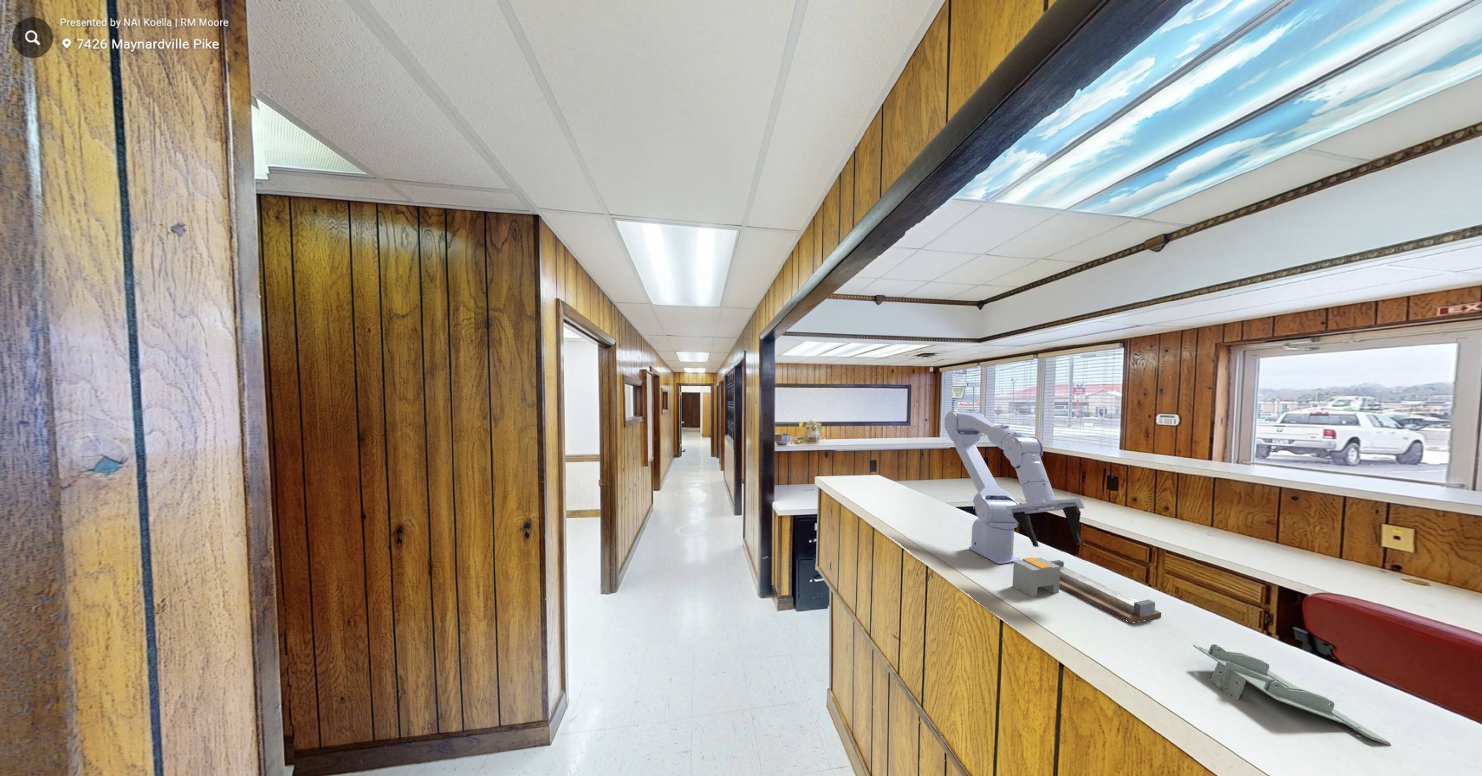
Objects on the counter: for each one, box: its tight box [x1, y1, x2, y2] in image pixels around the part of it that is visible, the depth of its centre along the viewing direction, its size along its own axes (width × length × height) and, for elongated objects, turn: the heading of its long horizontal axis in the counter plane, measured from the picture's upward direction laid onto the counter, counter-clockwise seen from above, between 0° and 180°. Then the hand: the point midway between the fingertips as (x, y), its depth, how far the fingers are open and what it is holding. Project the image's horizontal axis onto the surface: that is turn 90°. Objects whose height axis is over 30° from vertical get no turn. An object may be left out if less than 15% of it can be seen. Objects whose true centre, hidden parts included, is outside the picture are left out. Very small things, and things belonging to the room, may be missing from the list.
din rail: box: [1048, 559, 1156, 617], centre depth 85 cm, size 18×4×2 cm, turn 15°
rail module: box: [1012, 557, 1060, 598], centre depth 87 cm, size 4×8×6 cm, turn 105°
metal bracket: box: [1192, 643, 1392, 746], centre depth 59 cm, size 14×6×15 cm
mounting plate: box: [1059, 578, 1162, 624], centre depth 86 cm, size 18×9×1 cm, turn 15°
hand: (1056, 545), depth 84 cm, fingers open, 7 cm apart
